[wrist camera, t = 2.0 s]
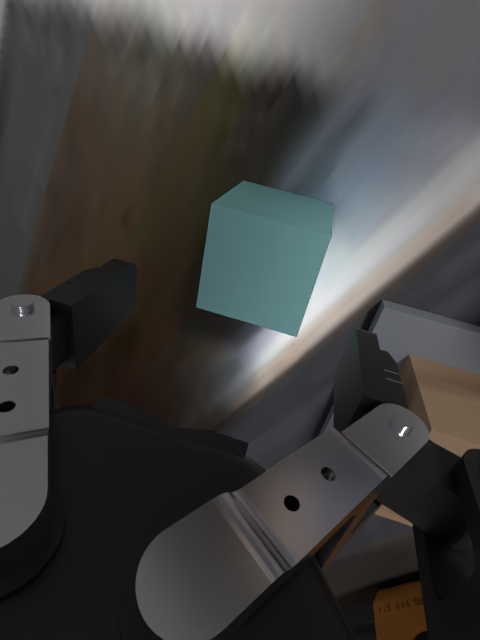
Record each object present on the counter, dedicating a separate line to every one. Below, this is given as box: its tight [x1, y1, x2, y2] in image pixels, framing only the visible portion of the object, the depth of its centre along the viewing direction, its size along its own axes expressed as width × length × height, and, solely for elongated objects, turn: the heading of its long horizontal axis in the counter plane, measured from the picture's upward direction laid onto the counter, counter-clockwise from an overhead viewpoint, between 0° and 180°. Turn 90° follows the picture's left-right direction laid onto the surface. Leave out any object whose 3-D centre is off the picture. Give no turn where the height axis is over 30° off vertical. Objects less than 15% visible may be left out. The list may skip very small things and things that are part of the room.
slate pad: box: [319, 299, 480, 436], centre depth 23 cm, size 12×12×1 cm
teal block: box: [196, 181, 333, 337], centre depth 18 cm, size 5×5×6 cm
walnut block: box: [374, 354, 480, 527], centre depth 20 cm, size 7×7×6 cm
